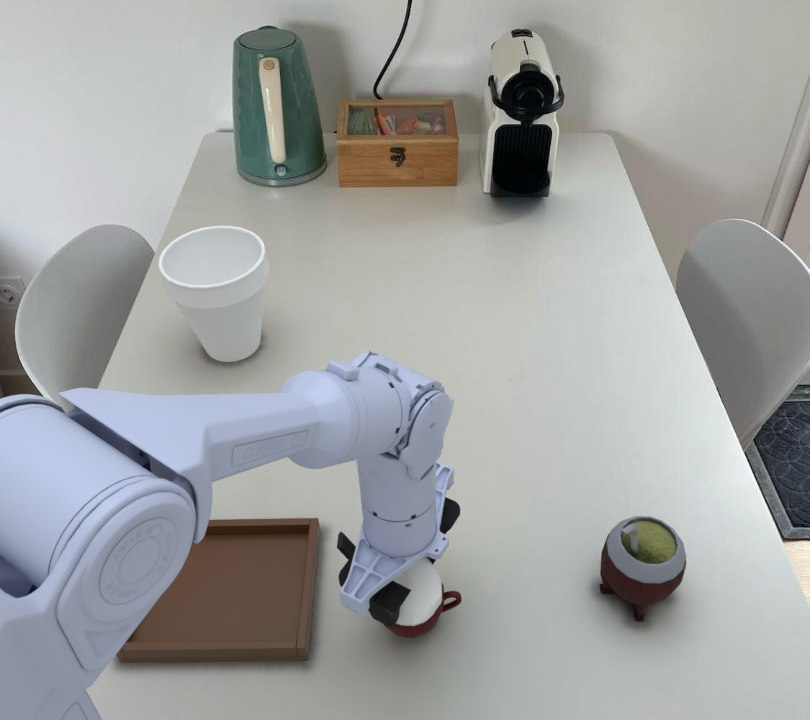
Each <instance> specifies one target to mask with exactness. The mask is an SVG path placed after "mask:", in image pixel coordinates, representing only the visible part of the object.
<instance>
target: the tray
mask: <svg viewBox="0 0 810 720" xmlns="http://www.w3.org/2000/svg"><path fill="white" fill-rule="evenodd" d="M319 519H320V518H319V517H293V518H292V517H290V518H285V517H284V518H283V517H282V518H238V519H237V518H235V519H234V518H232V519H231V518H229V519H227V518H226V519H209V522H208V526H207V529H206V533H205V536H204V538H203V539H202V540H201V541H200V542H199V543H197V544H196V543H194V542H193V541H192V544H191V548H190V551H189V554H188V556H187V559H186V561H185V563H184V565H183V567H182V568H181V570H180V572H179V573H178V575H177V576H176V578H175V579H174V581H173V582H172V583H171V585H170V586H169V587H168V588H167V589H166V590H165V592H164V593H163V594H162V595H161V596H160V598H159V599H158V600H157V601H156V603H155V604H154V605H153V607H152V608H151V609H150V611H149V612H148V613H147V615H146V616H145V617H144V619H143V620H142V621H141V623H140V624H139V625H138V626H137V628H136V629H135V630H134V632H133V633H132V634H131V636H130V637H129V638H128V640H127V641H126V642H125V644H124V645H123V646H122V647H121V649H120V650H119V651H118V653H117V654H116V655H115V657H116V658H117V660H118V662H119V663H153V662H154V663H159V662H162V663H163V662H164V663H165V662H166V663H167V662H172V663H173V662H232V661H233V662H242V661H243V662H244V661H245V662H246V661H248V662H249V661H250V662H251V661H253V662H254V661H308V660H309V653H310V643H311V632H312V622H313V612H314V601H315V592H316V584H317V583H316V582H317V572H318V562H319V561H318V560H319V553H320V552H319V551H320V541H321V532H322V531H321V526H320V520H319Z"/></svg>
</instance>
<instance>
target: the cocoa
mask: <svg viewBox="0 0 810 720" xmlns="http://www.w3.org/2000/svg"><path fill="white" fill-rule="evenodd" d="M336 549H337V550H338V551H339V552H340V553H341V554H342V555H343V556H344V557H345V558H346V559H347V561H348V560H349V559H350V557H353V556H354V552H355V549H356V545H355V544H354V543H353V542H352V540H351V539H349V538H348V537H347V535H346V534H345V533H344V532H343V531H339V532H338V534H337V541H336ZM393 581H394V582H396V583H398V584H400V585H402V586H404V587H406V588H408V589H410V590H411V591H410V593H409V595H408V596H407V598H406V599H405V601H404V602H403V604H402V605H401V607H400V613H399V618H398V620H397V622H396V623H395V625H394V627H393V628H390V627H388V626H386V625H384V624H382V625H383V626H384V627H385V628H386V629H388V630H389V631H390V632H392V633H393V634H395V635H396V636H397V637H404V638H408V639H412V638H417V637H420V636H424V635H426V634H427V633H429V632H430V631H431V630H432V629H433V628H435V627H436V626H437V623H438V621H439V619H440V618H441V615H442V614H444V613H445V612H448V611H451V610H453V609H454V608H456V607H457V606H459V605H460V604H461V603H462V601H463V599H462V598H463V597H462V594H461V592H459V591H457V590H448V591H447V590H446V591H445V587H444V583H443V581H442V579H441V575H440V574H439V573H438V570H437V568H436V567H435V565H434V564H432V563H431V561H430V560H429V558H428V557H424V558H422V559H421V560H419V561H418V562H417V563H415V564H414V565H413V566H411V567H410V568H409V569H407V570H406V571H405V572H403V573H402V574H400V575H399V576H398V577H396V578H395V579H394V580H393ZM448 599H453V600H452V601H450V602H447V603H445V601H447V600H448Z"/></svg>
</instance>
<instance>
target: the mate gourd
mask: <svg viewBox="0 0 810 720" xmlns="http://www.w3.org/2000/svg"><path fill="white" fill-rule="evenodd" d="M600 554H601V555H600V570H599V572H600V578H601V582H602V583H599V592H600V594H604V595H618V596H619V597H620V598H622V599H623V600H624V601H626V602H629V603H631V609H632V614H633V619H634V622H638V623H639V622H644V620H645V614H644V612H645V611H646V610H647V609H648V607H649V606H652V605H655V604H657V603H659V602H662V601H664V600H666V599H667V598H668V597H670V595H672V593H674V591H676V589H678V587H680V585H681V583H682V582H683V579H684V575H685V571H686V567H687V553H686V549H685V545H684V542H683V540H682V538H680V536H679V535H678V533H677V532H676V530H675V529H674V528H673V527H672V526H670V524H668V523H666V522H664V520H662V519H659V518H656V517H653V516H651V515H634V516H633V517H629V518H626V519H622V520H620V522H618V523H617V524H616V525H615V526H614V527H613V528H611V529H610V532H609V533H608V534H607V537H606V539H605V541H604V545H603V547H602V550H601V553H600Z"/></svg>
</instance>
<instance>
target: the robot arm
mask: <svg viewBox="0 0 810 720" xmlns="http://www.w3.org/2000/svg"><path fill="white" fill-rule="evenodd" d="M57 395H58V396H59V397H61V398H63V399H64V401H67V402H68V403H70V404H71V405H72V407H73V409H71V410H70V411H67V412H66V411H65V410H64V408H62V406H60V405H59V404H57V403H56V402H55V401H52V399H50V398H47V397H44V396H41V395H36V394H31V393H30V394H29V393H27V394H26V393H20V394H13V395H8V396H5V397H1V398H0V720H103V719H102V717H101V715H100V713H99V711H98V710H97V708H96V706H95V704H94V702H93V700H92V699H91V697H90V695H89V693H88V691H87V689H89V688H90V687H92V686H93V685H94V684H95V682H96V681H97V680H98V678H99V677H100V675H101V674H102V673H103V672H104V670H105V669H106V668H107V667H108V665H109V664H110V662H111V661H112V660H113V659H114V658H115V657H116V654H117V653H118V651H119V650H120V649H121V647H122V646H123V645H124V644H125V642H126V641H127V640H128V638H129V637H130V636H131V634H132V633H133V632H134V630H135V629H136V628H137V626H138V625H139V624H140V623H141V621H142V620H143V619H144V617H145V616H146V615H147V613H148V612H149V611H150V609H151V608H152V607H153V605H154V604H155V603H156V601H157V600H158V599H159V598H160V596H161V595H162V594H163V593H164V592H165V590H166V589H167V588H168V587H169V586H170V585H171V583H172V582H173V581H174V579H175V578H176V576H177V575H178V573H179V572H180V570H181V568H182V567H183V565H184V563H185V561H186V559H187V556H188V554H189V551H190V548H191V544H192V541H193V542H194V543H196V544H197V543H199V542H200V541H201V540H202V539H203V538H204V536H205V533H206V529H207V526H208V522H209V520H210V518H211V514H212V507H213V483H214V482H217V481H220V480H223V479H226V478H229V477H232V476H234V475H238V474H241V473H244V472H247V471H250V470H253V469H256V468H259V467H261V466H264V465H268V464H271V463H273V462H276V461H280V460H282V459H285V458H288V459H289V460H290V461H291V462H293V463H294V464H296V465H297V466H300V467H302V468H305V469H309V470H320V469H325V468H329V467H333V466H336V465H341V464H345V463H349V462H353V461H356V466H357V475H358V485H359V494H360V504H361V513H362V523H361V526H360V530H359V533H358V537H357V541H356V545H355V546H356V549H355V552H354V556H353V557H350V559H349V560H348V559H347V561H346V562H345V564H344V565H343V567H342V568H341V569H340V571H339V573H338V583H339V587H340V590H339V591H338V592H339V598H340V604H341V606H342V607H344V608H346V609H347V610H349V611H350V612H352V613H355V614H357V615H359V616H361V617H364V616H365V615H366V614H367V612H369V614H370V616H371V618H372V619H373V620H375V621H377V622H378V623H380V624H382V625H383V624H384V625H386V626H388V627H390V628H393V627H394V625H395V623H396V622H397V620H398V618H399V613H400V607H401V605H402V604H403V602H404V601H405V599H406V598H407V596H408V595H409V593H410V591H411V590H410V589H408V588H406V587H404V586H402V585H400V584H398V583H396V582H394V581H393V580H394V579H395V578H396V577H398V576H399V575H400V574H402V573H403V572H405V571H406V570H407V569H409V568H410V567H411V566H413V565H414V564H415V563H417V562H418V561H419V560H421V559H422V558H424V557H428V558H429V560H430V561H431V563H432V564H433V565H435V563H436V561H437V560H440V559H441V558H442V556H444V553H445V552H446V550H447V549H448V547H449V545H450V537H449V536H448V535H447V533H448V532H449V531H450V530H451V529H453V527H454V525H455V523H456V522H457V520H458V519H459V517H460V515H461V506H460V504H459V503H458V502H457V501H455V500H454V499H451V498H449V497H447V491H449V490H450V489H451V488H452V486H453V485H454V481H455V478H454V477H455V468H454V467H451V466H449V465H446V464H444V463H442V462H439V461H438V459H439V458H440V457H441V455H442V450H443V449H444V438H445V434H446V430H447V428H448V425H449V422H450V421H451V417H452V413H453V410H454V401H455V398H454V397H450V396H449V395H448V394H447V393H446V392H445V387H444V385H443V384H442V383H441V382H440V381H438V380H435V379H433V378H431V377H429V376H427V375H425V374H423V373H421V372H419V371H417V370H415V369H413V368H410V367H409V366H406V365H404V364H402V363H400V362H398V361H396V360H394V359H392V358H390V357H387V356H385V355H383V354H378V353H377V352H374V351H371V350H370V349H366V350H364V351H363V352H361V353H360V354H358V355H357V356H356V357H355V358H354V359H352V361H350V363H348V362H347V361H344V360H341V359H337V360H336V359H335V360H330V361H328V363H327V366H326V369H315V370H305V371H300V372H298V373H296V374H293V375H292V376H291V377H289V378H288V379H287V380H286V381H285V382H283V384H282V385H281V386H280V388H279V389H278V391H277V392H260V393H259V392H258V393H257V392H256V393H254V392H253V393H213V394H212V393H211V394H207V393H206V394H145V393H139V392H138V393H137V392H127V391H119V390H109V389H99V388H93V387H92V388H90V387H77V388H76V387H75V388H73V389H68V390H64V391H59V392H57ZM384 625H383V626H384Z"/></svg>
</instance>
